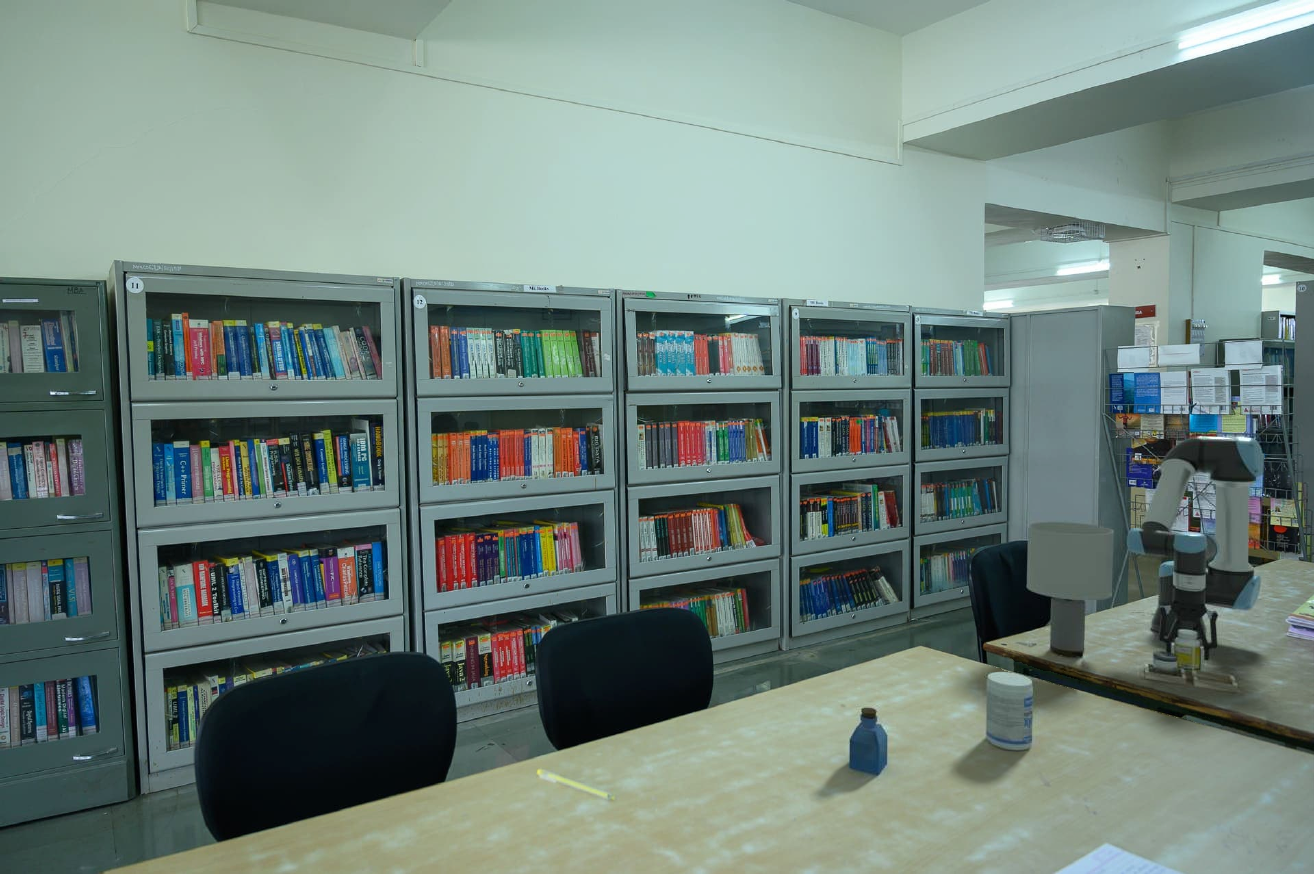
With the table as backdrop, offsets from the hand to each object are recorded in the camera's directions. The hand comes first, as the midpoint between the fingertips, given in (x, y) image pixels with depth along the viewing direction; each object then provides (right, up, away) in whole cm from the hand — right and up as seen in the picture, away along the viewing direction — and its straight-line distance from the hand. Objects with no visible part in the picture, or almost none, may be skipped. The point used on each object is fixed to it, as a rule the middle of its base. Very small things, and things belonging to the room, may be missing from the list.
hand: (1186, 668), depth 221 cm
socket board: (-6, -1, -10) cm, 11 cm away
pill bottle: (0, -1, 0) cm, 1 cm away
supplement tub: (-70, -4, -44) cm, 83 cm away
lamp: (-25, 0, +17) cm, 30 cm away
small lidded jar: (-11, 0, -7) cm, 13 cm away
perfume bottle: (-105, -5, -55) cm, 118 cm away
